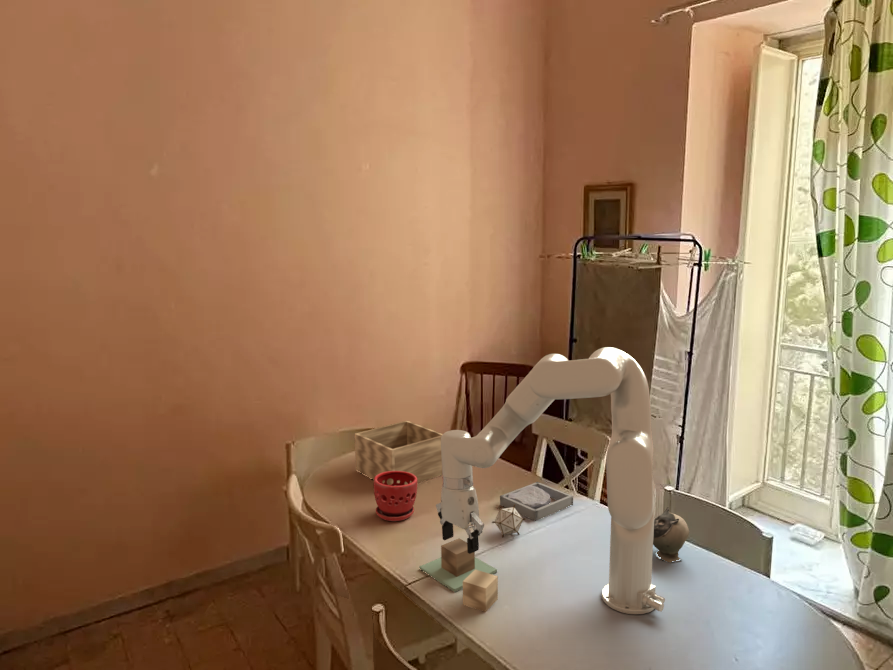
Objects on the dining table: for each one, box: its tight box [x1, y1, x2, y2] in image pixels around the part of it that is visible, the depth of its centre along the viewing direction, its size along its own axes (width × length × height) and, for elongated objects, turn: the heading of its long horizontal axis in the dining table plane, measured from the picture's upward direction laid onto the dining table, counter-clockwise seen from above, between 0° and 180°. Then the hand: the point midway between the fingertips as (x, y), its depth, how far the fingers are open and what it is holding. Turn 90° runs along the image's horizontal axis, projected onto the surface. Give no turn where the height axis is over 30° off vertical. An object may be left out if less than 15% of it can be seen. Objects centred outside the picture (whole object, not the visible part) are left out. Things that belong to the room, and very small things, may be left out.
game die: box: [491, 504, 527, 538], centre depth 189 cm, size 9×8×10 cm
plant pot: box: [373, 471, 418, 522], centre depth 201 cm, size 13×13×12 cm
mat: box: [419, 556, 498, 593], centre depth 170 cm, size 14×14×1 cm
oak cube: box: [462, 570, 499, 613], centre depth 156 cm, size 6×6×6 cm
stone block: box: [508, 485, 552, 509], centre depth 209 cm, size 12×5×10 cm
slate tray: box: [499, 481, 574, 522], centre depth 208 cm, size 15×17×3 cm
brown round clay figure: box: [653, 506, 690, 563], centre depth 175 cm, size 10×12×10 cm
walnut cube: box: [440, 537, 476, 577], centre depth 169 cm, size 6×6×6 cm
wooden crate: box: [354, 420, 444, 485], centre depth 235 cm, size 23×23×14 cm
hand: (460, 544), depth 168 cm, fingers open, 9 cm apart
